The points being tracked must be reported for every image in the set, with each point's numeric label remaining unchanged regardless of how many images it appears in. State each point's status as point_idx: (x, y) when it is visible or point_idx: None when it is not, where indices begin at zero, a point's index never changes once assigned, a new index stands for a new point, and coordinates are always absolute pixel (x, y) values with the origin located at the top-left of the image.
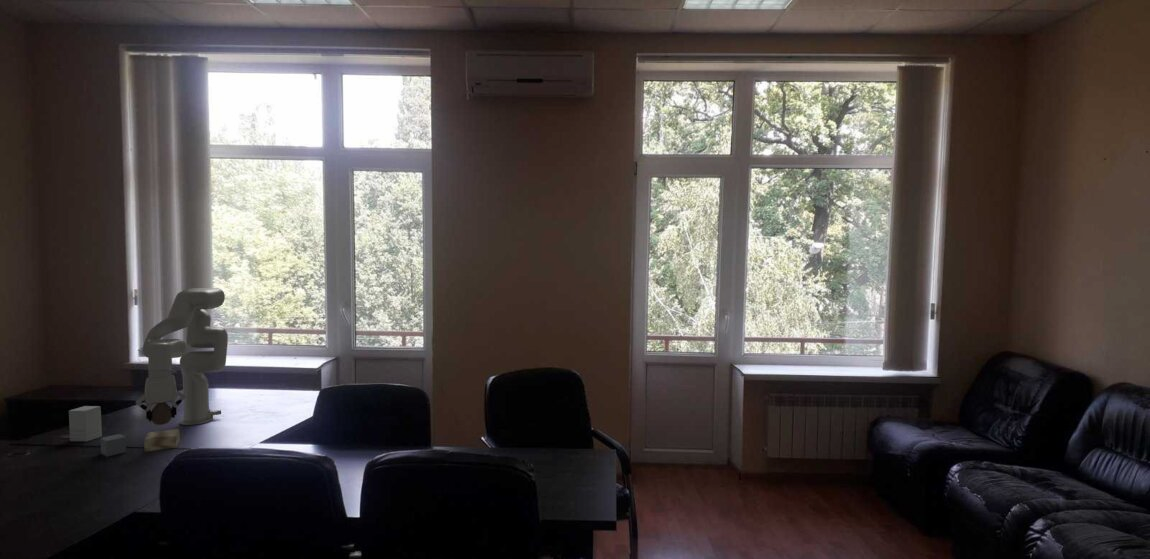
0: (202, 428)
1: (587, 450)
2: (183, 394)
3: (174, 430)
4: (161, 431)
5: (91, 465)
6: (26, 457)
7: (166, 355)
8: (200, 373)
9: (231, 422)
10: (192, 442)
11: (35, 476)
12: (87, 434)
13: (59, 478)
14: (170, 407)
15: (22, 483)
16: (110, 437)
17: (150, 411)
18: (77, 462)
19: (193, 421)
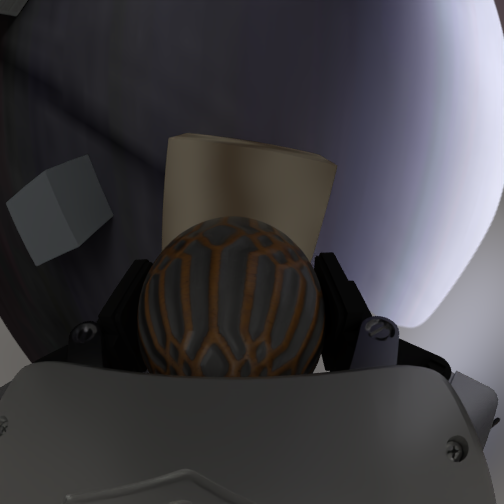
0: (418, 29)
1: (498, 421)
2: (484, 429)
3: (308, 189)
4: (237, 164)
5: (66, 299)
6: None
7: None
8: None
9: (494, 48)
10: (356, 232)
11: (7, 300)
12: (5, 8)
13: (51, 342)
14: (317, 363)
15: (13, 325)
16: (30, 218)
17: (139, 370)
18: (25, 248)
19: None
